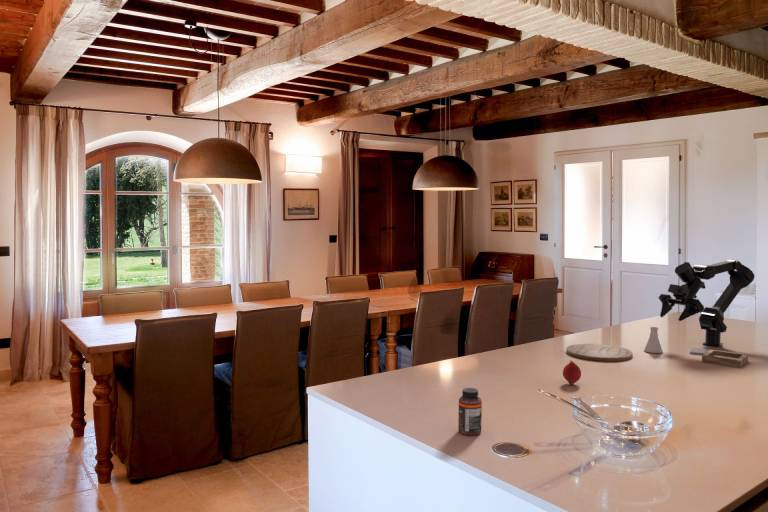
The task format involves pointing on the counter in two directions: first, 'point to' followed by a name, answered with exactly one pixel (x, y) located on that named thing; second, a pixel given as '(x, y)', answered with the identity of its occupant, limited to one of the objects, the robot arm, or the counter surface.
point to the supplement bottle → (470, 412)
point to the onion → (571, 372)
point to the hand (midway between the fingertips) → (669, 318)
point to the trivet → (599, 352)
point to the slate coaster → (699, 351)
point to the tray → (725, 358)
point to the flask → (653, 342)
